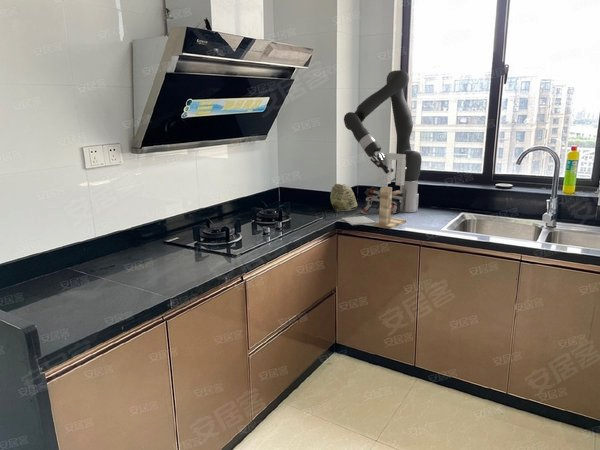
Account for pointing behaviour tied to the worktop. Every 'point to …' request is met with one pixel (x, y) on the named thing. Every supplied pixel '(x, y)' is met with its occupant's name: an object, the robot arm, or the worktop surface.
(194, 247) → the worktop surface
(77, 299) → the worktop surface
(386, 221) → the stand
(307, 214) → the worktop surface
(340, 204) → the fossil
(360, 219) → the mat
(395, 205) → the toy blaster
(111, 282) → the worktop surface
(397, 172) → the link
